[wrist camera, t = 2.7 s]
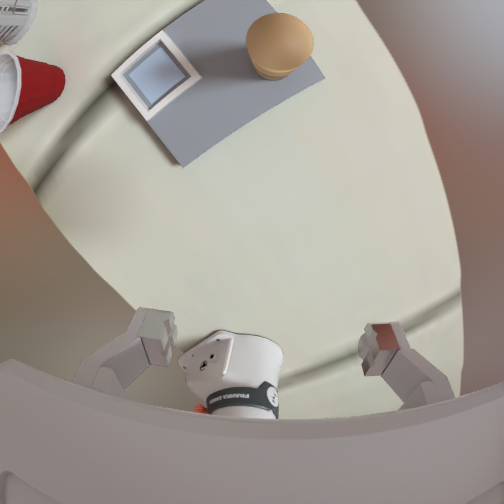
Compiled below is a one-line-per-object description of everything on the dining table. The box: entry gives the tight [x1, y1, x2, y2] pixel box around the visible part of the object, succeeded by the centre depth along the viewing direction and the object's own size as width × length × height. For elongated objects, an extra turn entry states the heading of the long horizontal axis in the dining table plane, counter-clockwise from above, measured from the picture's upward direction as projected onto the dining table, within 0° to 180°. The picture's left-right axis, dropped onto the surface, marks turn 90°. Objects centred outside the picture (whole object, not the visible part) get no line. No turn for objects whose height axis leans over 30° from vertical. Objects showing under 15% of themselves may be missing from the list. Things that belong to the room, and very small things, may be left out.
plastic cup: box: [0, 51, 65, 133], centre depth 22 cm, size 11×11×12 cm
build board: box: [111, 0, 325, 168], centre depth 26 cm, size 20×16×3 cm
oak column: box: [246, 13, 314, 81], centre depth 20 cm, size 4×4×13 cm
